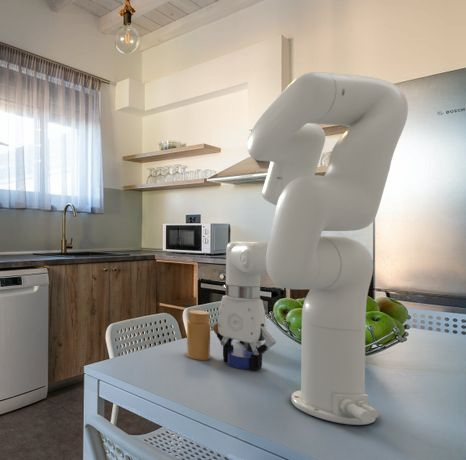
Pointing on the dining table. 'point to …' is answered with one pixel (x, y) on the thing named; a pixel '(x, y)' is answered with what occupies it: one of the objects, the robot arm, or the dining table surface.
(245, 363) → the jar lid
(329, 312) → the robot arm
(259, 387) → the dining table surface
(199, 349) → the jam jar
